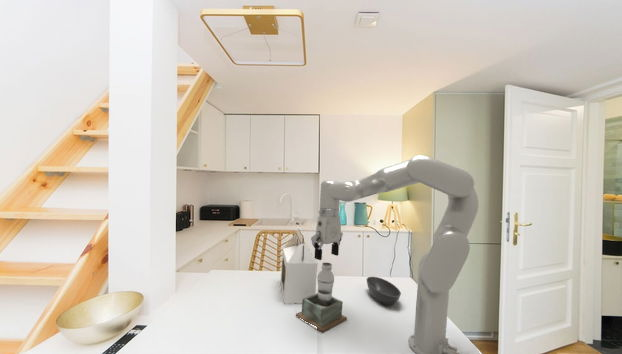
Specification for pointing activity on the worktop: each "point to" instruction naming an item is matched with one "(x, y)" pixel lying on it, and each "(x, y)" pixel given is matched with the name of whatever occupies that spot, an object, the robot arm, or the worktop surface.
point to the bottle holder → (321, 313)
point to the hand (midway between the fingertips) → (326, 256)
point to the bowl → (383, 291)
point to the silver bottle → (325, 286)
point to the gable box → (297, 270)
